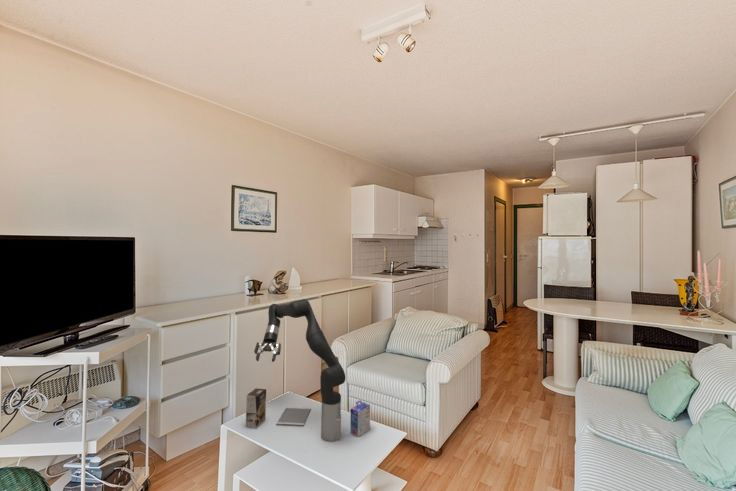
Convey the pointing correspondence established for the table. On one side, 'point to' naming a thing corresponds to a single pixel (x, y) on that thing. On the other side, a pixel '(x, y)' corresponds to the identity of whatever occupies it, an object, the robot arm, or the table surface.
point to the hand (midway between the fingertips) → (265, 361)
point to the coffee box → (256, 408)
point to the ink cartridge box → (360, 418)
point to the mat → (294, 416)
